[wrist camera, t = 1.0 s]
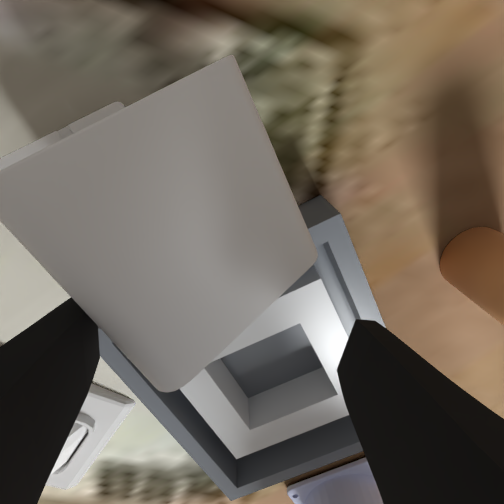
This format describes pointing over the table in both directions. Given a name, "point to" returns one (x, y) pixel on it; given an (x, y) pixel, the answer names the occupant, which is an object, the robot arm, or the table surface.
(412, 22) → the table surface
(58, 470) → the light switch
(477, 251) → the brown cylindrical peg
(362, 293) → the walled box
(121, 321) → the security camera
